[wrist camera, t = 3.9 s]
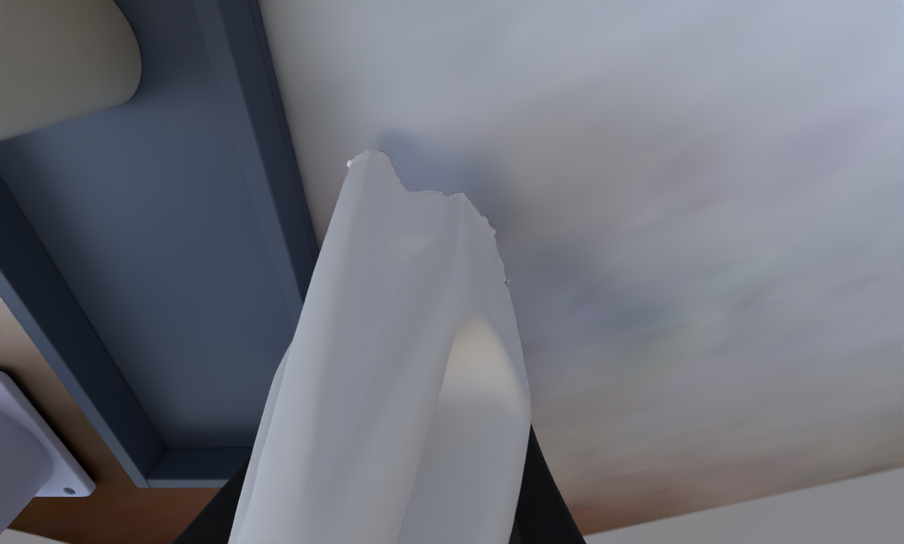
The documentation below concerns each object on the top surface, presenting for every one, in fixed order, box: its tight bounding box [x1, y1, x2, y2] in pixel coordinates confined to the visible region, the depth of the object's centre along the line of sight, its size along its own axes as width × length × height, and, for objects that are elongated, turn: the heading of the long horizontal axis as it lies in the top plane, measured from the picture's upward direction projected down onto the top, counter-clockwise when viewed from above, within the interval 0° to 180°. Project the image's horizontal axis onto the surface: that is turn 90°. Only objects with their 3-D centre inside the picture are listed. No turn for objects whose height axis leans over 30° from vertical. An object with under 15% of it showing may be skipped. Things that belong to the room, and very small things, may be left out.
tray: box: [0, 0, 319, 488], centre depth 13 cm, size 9×23×2 cm, turn 3°
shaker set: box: [228, 149, 531, 544], centre depth 9 cm, size 12×4×11 cm, turn 174°
